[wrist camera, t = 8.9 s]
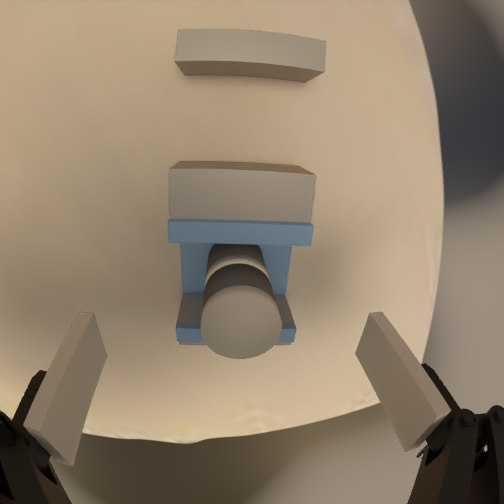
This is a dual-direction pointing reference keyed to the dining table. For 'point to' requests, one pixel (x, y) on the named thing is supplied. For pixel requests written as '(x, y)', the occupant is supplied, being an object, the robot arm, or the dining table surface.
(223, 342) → the plug
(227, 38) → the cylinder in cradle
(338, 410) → the dining table surface
